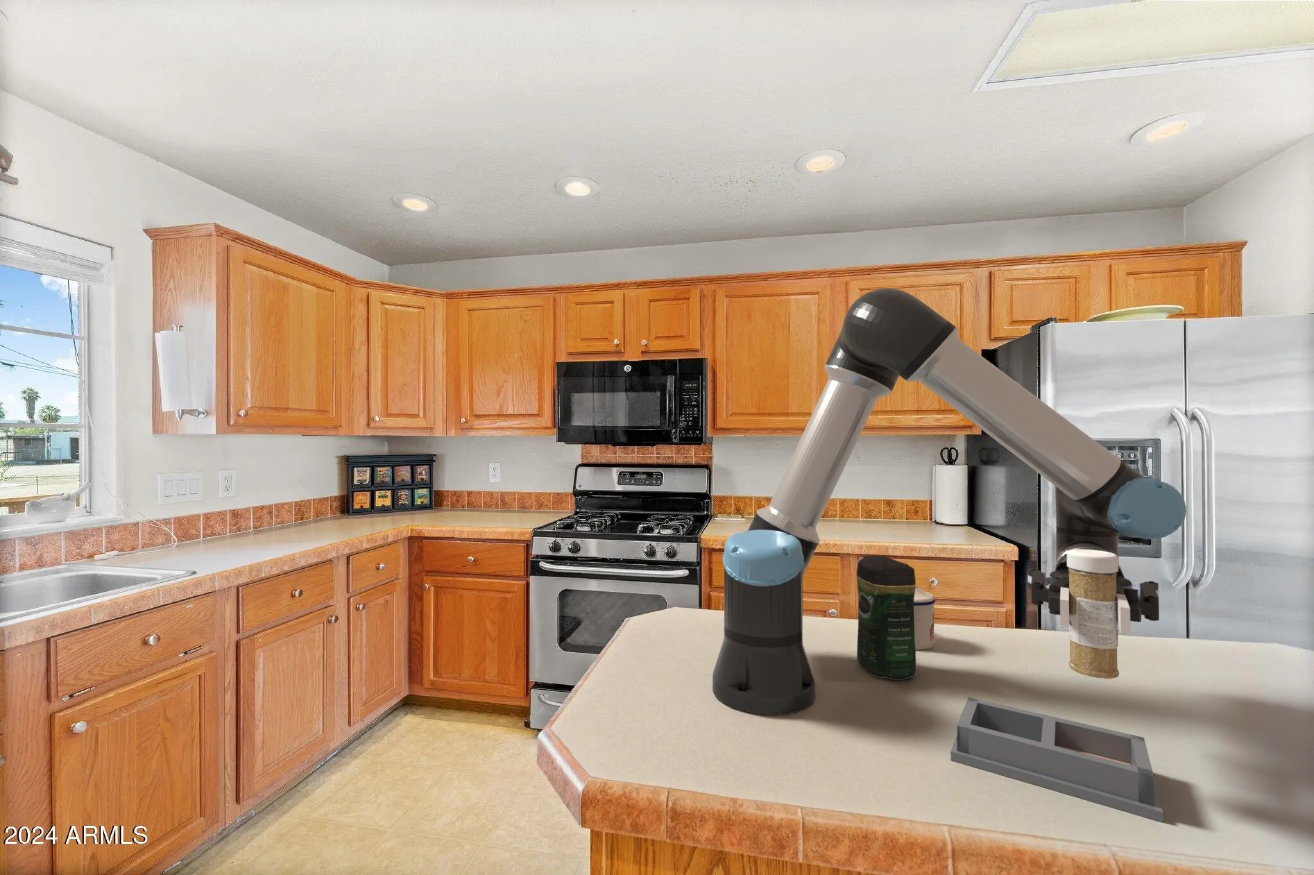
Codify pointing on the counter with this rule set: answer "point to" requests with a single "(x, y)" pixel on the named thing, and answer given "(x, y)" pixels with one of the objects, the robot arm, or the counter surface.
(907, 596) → the coffee jar
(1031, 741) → the bottle caddy
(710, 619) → the counter surface
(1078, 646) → the sprinkles bottle
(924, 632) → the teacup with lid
